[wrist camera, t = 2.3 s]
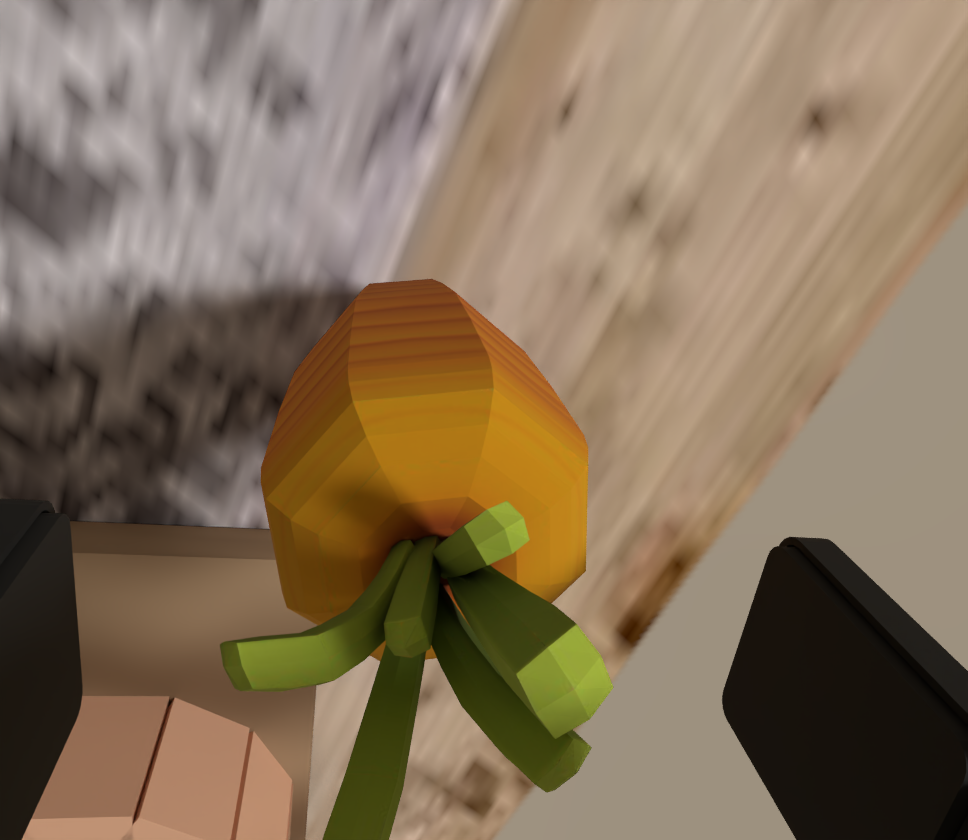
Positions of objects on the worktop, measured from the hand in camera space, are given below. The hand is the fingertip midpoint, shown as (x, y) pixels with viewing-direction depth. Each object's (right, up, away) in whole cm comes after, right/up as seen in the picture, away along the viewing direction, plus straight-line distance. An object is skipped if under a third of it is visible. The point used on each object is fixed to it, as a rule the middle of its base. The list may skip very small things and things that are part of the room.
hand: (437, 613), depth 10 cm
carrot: (-2, +6, +10) cm, 12 cm away
